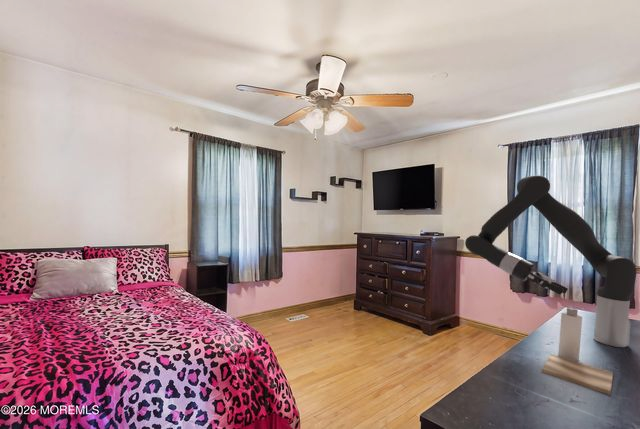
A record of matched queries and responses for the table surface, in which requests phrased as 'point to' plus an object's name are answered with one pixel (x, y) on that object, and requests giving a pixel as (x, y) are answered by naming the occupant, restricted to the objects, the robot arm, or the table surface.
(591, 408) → the table surface
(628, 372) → the table surface
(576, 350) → the lotion bottle
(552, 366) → the oak board
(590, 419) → the table surface
